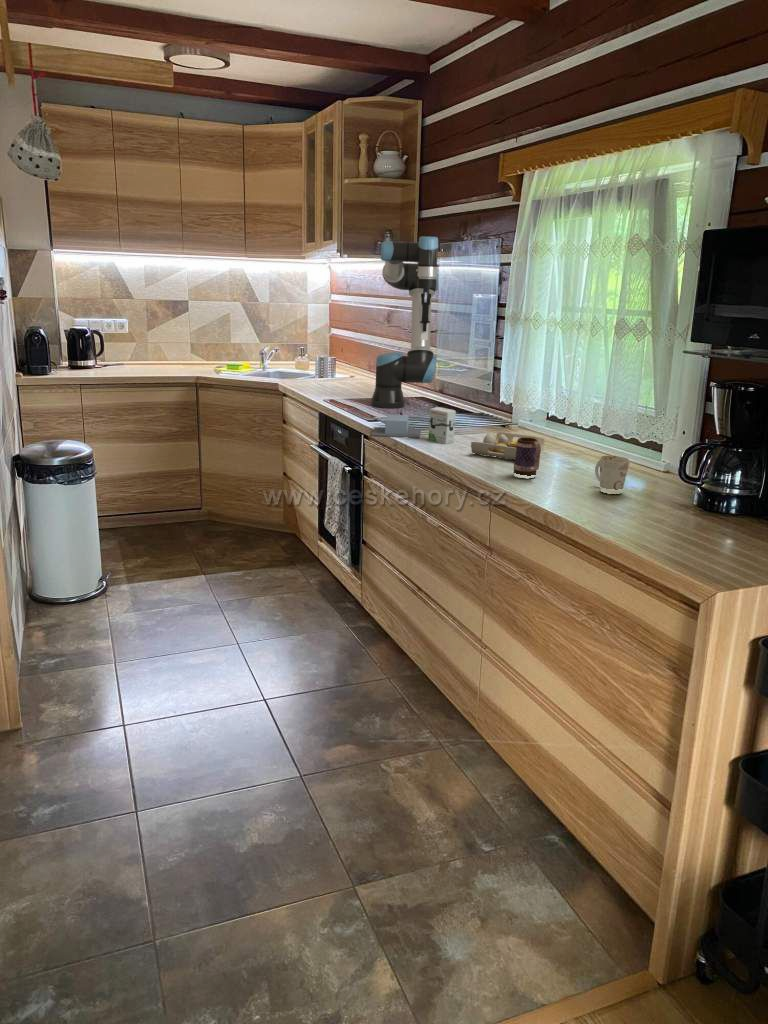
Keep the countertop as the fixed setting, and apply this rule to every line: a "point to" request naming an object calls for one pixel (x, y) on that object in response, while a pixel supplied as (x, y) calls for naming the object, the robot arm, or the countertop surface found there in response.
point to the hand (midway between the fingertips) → (424, 339)
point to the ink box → (442, 425)
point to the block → (396, 424)
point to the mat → (410, 434)
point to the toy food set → (501, 445)
